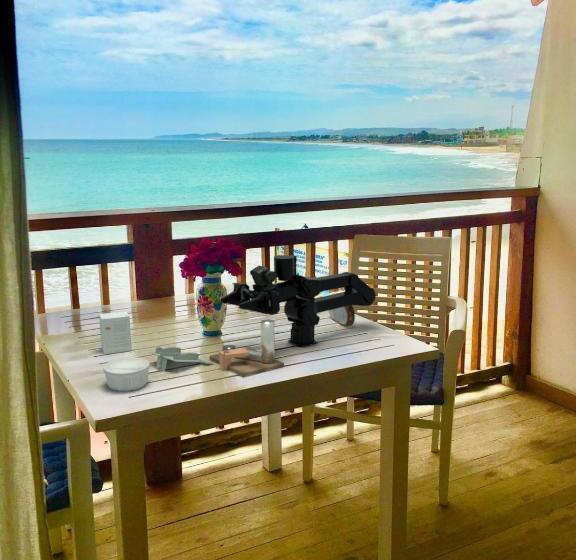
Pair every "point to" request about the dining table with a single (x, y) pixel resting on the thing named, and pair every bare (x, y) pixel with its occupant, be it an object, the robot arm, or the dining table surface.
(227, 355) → the block
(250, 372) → the board
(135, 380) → the ramekin
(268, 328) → the grey cylinder with bar
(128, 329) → the small box
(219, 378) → the dining table surface
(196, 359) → the metal bracket
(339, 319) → the tin
